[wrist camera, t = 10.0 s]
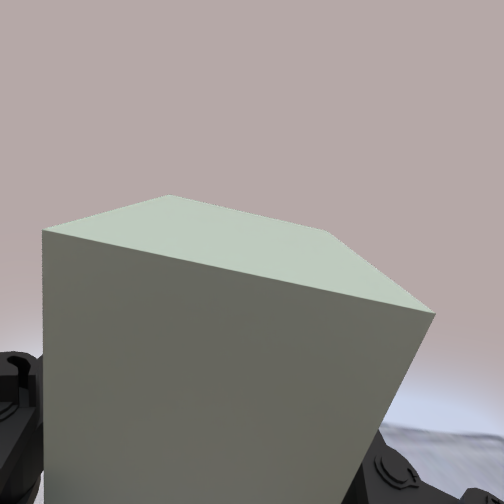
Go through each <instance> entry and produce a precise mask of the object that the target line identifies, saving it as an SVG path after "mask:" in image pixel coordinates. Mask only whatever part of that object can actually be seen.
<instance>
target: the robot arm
mask: <svg viewBox="0 0 504 504" xmlns="http://www.w3.org/2000/svg"><path fill="white" fill-rule="evenodd" d="M43 470H44V431H43V355H42V356H40V357H39V358H38V359H36V358H35V357H34V356H31V355H30V354H28V353H24V352H15V351H11V352H0V504H33V503H34V501H35V498H36V496H37V493H38V490H39V486H40V481H41V473H42V471H43ZM341 504H504V502H503V501H501V500H500V499H498V498H497V497H495V496H494V495H492V494H490V493H489V492H486V491H484V490H481V489H478V488H468V489H467V490H466V491H465V493H464V494H463V496H462V497H461V499H460V500H459V499H457V498H455V497H453V496H451V495H449V494H447V493H445V492H443V491H441V490H439V489H437V488H435V487H433V486H431V485H428V484H426V483H425V482H423V481H421V479H420V477H419V475H418V473H417V472H416V470H415V469H414V468H413V467H412V465H411V464H410V463H409V462H408V460H407V459H405V458H404V457H403V456H402V455H401V454H400V453H398V452H397V451H396V450H394V449H393V448H391V447H389V446H387V445H386V443H385V441H384V439H383V437H382V435H381V433H380V431H379V429H378V430H377V432H376V434H375V436H374V438H373V440H372V442H371V444H370V446H369V448H368V450H367V452H366V454H365V456H364V458H363V460H362V462H361V464H360V466H359V468H358V470H357V472H356V474H355V476H354V478H353V480H352V482H351V484H350V486H349V488H348V490H347V492H346V494H345V496H344V498H343V500H342V502H341Z"/></svg>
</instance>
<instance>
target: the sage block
mask: <svg viewBox="0 0 504 504" xmlns="http://www.w3.org/2000/svg"><path fill="white" fill-rule="evenodd" d="M42 267H43V268H42V272H43V273H42V277H43V278H42V285H43V431H44V504H341V502H342V500H343V498H344V496H345V494H346V492H347V490H348V488H349V486H350V484H351V482H352V480H353V478H354V476H355V474H356V472H357V470H358V468H359V466H360V464H361V462H362V460H363V458H364V456H365V454H366V452H367V450H368V448H369V446H370V444H371V442H372V440H373V438H374V436H375V434H376V432H377V430H378V428H379V426H380V424H381V422H382V420H383V418H384V416H385V414H386V413H387V410H388V408H389V406H390V405H391V403H392V400H393V398H394V396H395V395H396V392H397V390H398V388H399V386H400V385H401V382H402V381H403V379H404V377H405V375H406V373H407V371H408V369H409V367H410V364H411V363H412V361H413V358H414V357H415V355H416V352H417V351H418V349H419V346H420V344H421V343H422V341H423V338H424V337H425V335H426V332H427V330H428V328H429V327H430V324H431V323H432V320H433V319H434V316H435V315H436V313H434V312H433V311H432V310H430V309H429V308H428V307H426V306H425V305H424V304H422V303H421V302H420V301H419V300H417V299H416V298H415V297H413V296H412V295H411V294H409V293H408V292H407V291H405V290H404V289H403V288H402V287H400V286H399V285H398V284H396V283H395V282H393V281H392V280H391V279H390V278H388V277H387V276H386V275H384V274H383V273H382V272H380V271H379V270H378V269H376V268H375V267H374V266H372V265H371V264H370V263H369V262H367V261H366V260H365V259H363V258H362V257H361V256H359V255H358V254H357V253H355V252H354V251H353V250H351V249H350V248H349V247H347V246H346V245H345V244H343V243H342V242H341V241H339V240H338V239H337V238H335V237H334V236H333V235H332V234H330V233H329V232H328V231H325V230H320V229H316V228H312V227H308V226H303V225H299V224H295V223H290V222H286V221H282V220H277V219H273V218H268V217H265V216H260V215H256V214H251V213H247V212H243V211H238V210H234V209H230V208H226V207H221V206H217V205H213V204H208V203H204V202H199V201H196V200H191V199H187V198H183V197H178V196H174V195H166V196H163V197H159V198H155V199H151V200H148V201H145V202H141V203H137V204H133V205H130V206H126V207H123V208H119V209H115V210H111V211H108V212H104V213H100V214H97V215H93V216H90V217H86V218H82V219H79V220H75V221H71V222H68V223H64V224H60V225H57V226H53V227H49V228H46V229H43V230H42Z"/></svg>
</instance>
